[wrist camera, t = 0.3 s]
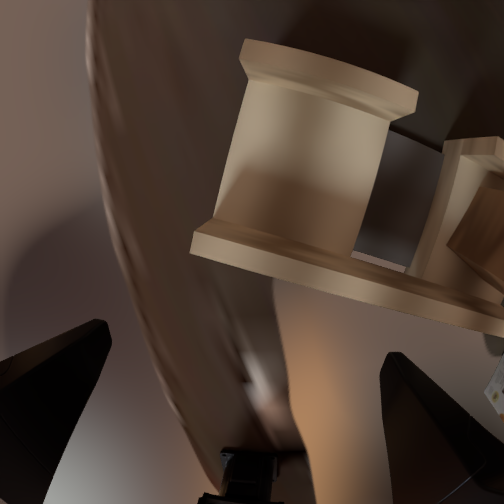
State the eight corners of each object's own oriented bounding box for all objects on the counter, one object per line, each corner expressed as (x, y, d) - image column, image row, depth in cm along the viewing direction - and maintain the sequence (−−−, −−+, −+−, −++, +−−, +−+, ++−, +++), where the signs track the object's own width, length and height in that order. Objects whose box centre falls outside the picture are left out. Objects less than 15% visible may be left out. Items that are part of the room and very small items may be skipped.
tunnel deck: (517, 184, 18) (570, 195, 11) (477, 303, 21) (518, 341, 15) (258, 76, 19) (245, 38, 12) (219, 226, 22) (189, 253, 16)
